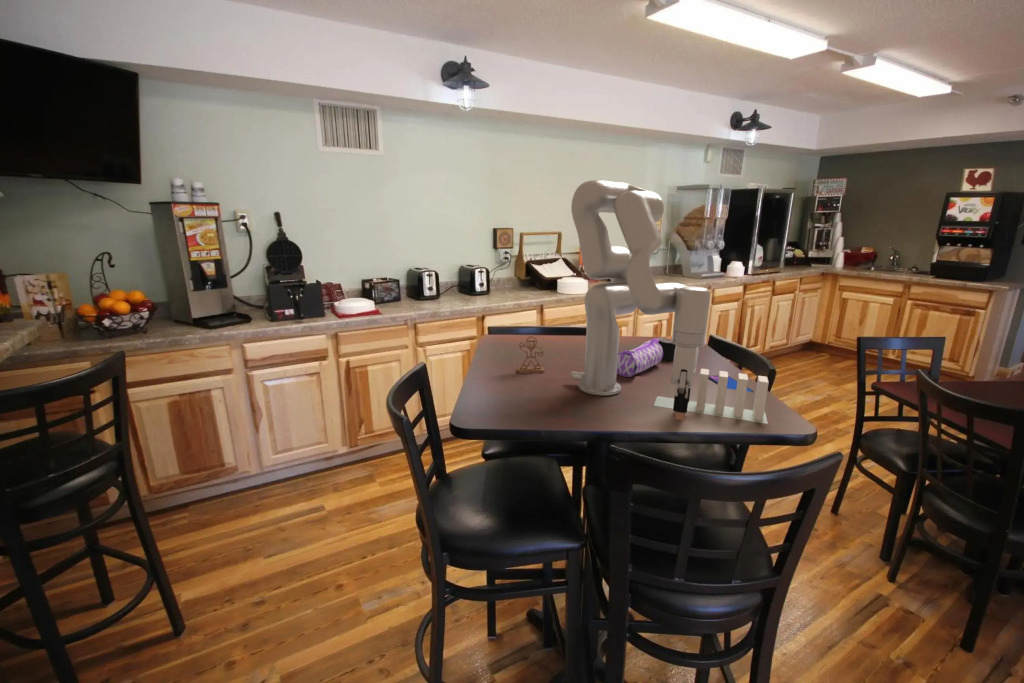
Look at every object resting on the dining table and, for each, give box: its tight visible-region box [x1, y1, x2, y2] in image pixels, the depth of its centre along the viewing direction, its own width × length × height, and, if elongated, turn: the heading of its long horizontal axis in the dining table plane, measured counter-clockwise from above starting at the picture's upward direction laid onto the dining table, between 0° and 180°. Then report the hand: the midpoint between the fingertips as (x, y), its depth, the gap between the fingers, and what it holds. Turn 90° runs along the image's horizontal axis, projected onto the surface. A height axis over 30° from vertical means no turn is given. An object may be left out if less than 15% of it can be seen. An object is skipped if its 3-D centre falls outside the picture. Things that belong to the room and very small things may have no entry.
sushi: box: [656, 335, 676, 362], centre depth 173 cm, size 8×8×8 cm
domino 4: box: [733, 372, 749, 418], centre depth 118 cm, size 2×5×10 cm, turn 156°
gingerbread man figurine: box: [516, 336, 546, 373], centre depth 154 cm, size 9×4×12 cm, turn 95°
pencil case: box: [617, 338, 663, 378], centre depth 158 cm, size 22×9×10 cm, turn 139°
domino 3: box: [714, 370, 729, 414], centre depth 120 cm, size 2×5×10 cm, turn 156°
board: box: [653, 395, 769, 425], centre depth 122 cm, size 27×8×1 cm, turn 66°
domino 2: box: [696, 368, 710, 411], centre depth 122 cm, size 2×5×10 cm, turn 156°
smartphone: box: [708, 375, 754, 393], centre depth 145 cm, size 7×1×15 cm
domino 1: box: [674, 382, 687, 421], centre depth 117 cm, size 2×5×10 cm, turn 156°
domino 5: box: [752, 375, 770, 421], centre depth 117 cm, size 2×5×10 cm, turn 156°
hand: (681, 406), depth 117 cm, fingers open, 6 cm apart
